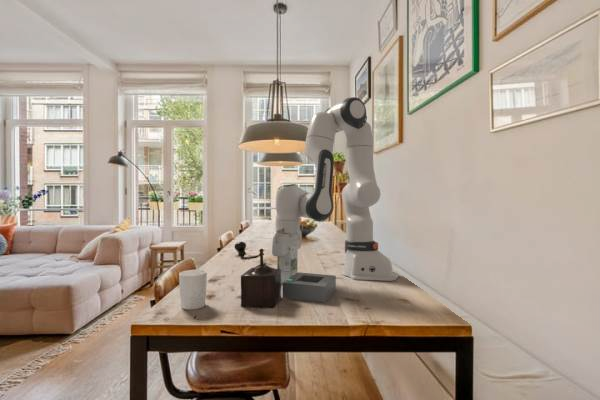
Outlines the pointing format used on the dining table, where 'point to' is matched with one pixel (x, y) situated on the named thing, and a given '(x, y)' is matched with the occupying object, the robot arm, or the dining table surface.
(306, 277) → the port block
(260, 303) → the manual coffee grinder
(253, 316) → the dining table surface
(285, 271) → the syrup box
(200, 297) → the white cup
